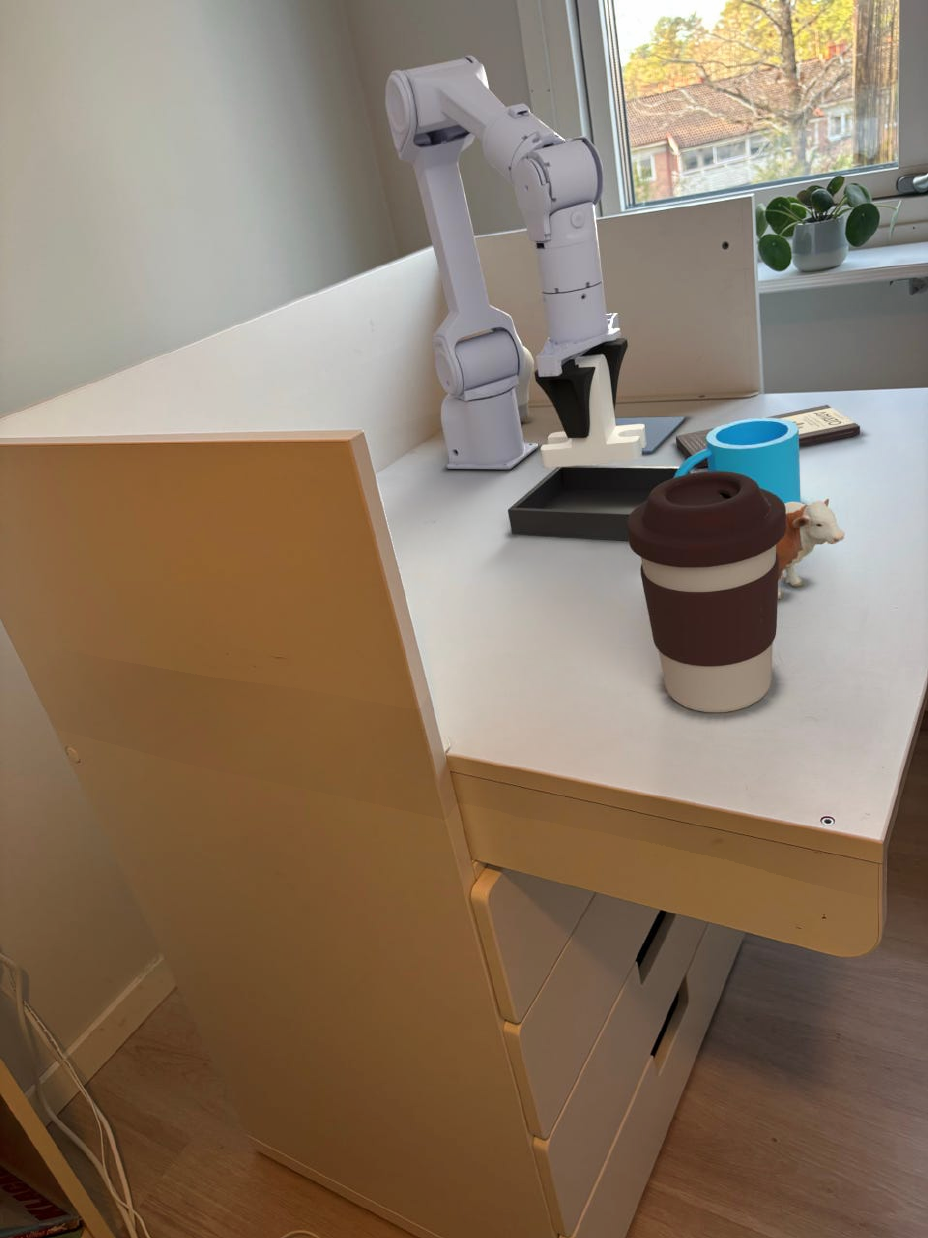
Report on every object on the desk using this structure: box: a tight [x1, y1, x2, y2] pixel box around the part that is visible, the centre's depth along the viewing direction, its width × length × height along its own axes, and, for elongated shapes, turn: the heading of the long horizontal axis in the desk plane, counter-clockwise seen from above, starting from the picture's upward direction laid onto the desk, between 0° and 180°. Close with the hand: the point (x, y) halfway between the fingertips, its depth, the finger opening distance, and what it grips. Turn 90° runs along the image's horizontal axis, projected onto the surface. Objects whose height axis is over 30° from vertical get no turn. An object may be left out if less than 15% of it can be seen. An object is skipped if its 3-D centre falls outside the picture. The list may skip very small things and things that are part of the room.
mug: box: [673, 417, 802, 504], centre depth 87 cm, size 12×8×8 cm
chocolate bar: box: [675, 404, 861, 469], centre depth 106 cm, size 9×1×18 cm
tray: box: [507, 465, 692, 542], centre depth 96 cm, size 15×12×3 cm
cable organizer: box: [540, 354, 646, 469], centre depth 92 cm, size 5×10×10 cm, turn 72°
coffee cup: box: [627, 470, 786, 713], centre depth 62 cm, size 10×10×15 cm
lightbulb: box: [514, 345, 535, 423], centre depth 128 cm, size 6×6×11 cm
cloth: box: [615, 416, 687, 454], centre depth 117 cm, size 14×12×1 cm
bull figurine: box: [776, 498, 845, 601], centre depth 74 cm, size 4×13×8 cm, turn 63°
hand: (591, 425), depth 93 cm, fingers closed on cable organizer, 6 cm apart
